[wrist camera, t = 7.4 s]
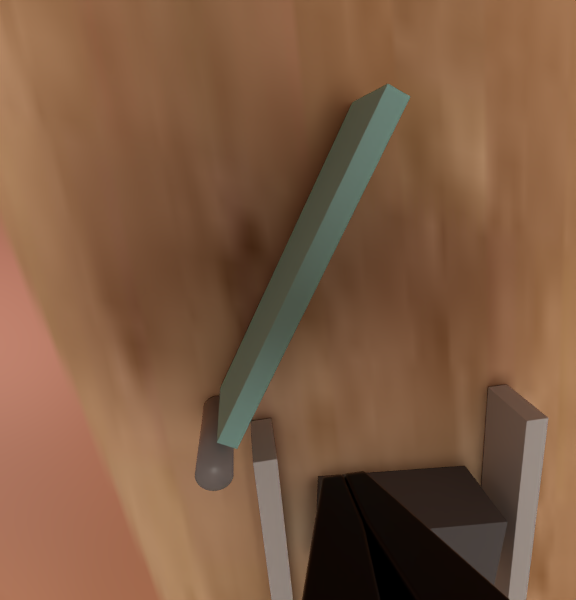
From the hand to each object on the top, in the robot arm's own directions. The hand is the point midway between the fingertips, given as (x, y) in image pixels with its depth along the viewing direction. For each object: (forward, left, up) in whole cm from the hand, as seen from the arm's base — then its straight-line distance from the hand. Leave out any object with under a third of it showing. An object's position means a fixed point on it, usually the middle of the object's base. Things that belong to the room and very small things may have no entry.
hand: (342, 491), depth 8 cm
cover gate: (+2, -1, -11) cm, 11 cm away
